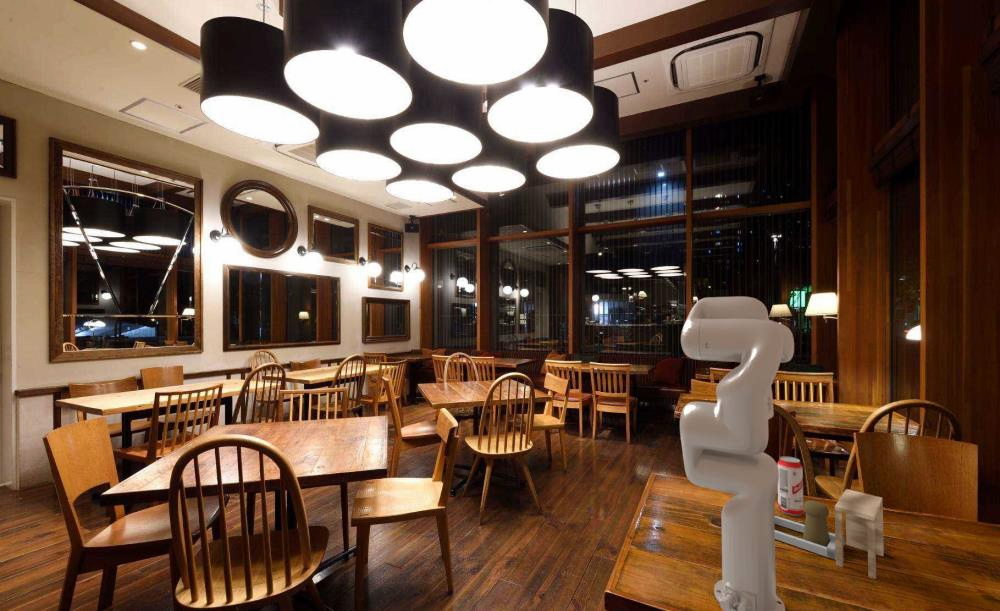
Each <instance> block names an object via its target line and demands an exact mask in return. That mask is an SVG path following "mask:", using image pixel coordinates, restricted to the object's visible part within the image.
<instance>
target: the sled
mask: <svg viewBox="0 0 1000 611" xmlns="http://www.w3.org/2000/svg"><path fill="white" fill-rule="evenodd" d="M774 525H777V526H780V527H784V528H787V529H791V530H792V531H793V530H794V531H796V532H800V533H804V526H805V523H804V524H803V523H800V522H796V521H795V520H790V519H787V518H785V517H781V516H778V515H775V521H774ZM829 538H830V543H829V544H828V546H827V547H824V546H821V545H818V544H815V543H812V542H809V541H806V540H803V538H800V537H797V536H794V535H791V534H788V533H785V532H782V531H779V530H776V529H775V540H777V541H779V542H783V543H785V544H789V545H791V546H795V547H797V548H800V549H804V550H806V551H809V552H812V553H815V554H818V555H820V556H823V557H825V558H830V559H833V560H835V561H836V538H835V533H832V532H829ZM845 539H846V538H845V536H843V547H844V546H845V545H846V544H845V542H846V541H845Z"/></svg>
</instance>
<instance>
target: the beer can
mask: <svg viewBox="0 0 1000 611" xmlns="http://www.w3.org/2000/svg"><path fill="white" fill-rule="evenodd" d="M777 466H778V470H779V481H778V487H777V508H778V509H779V511H780V512H781V513H782V514H784V515H787V516H791V517H800V516H803V514H804V484H803V483H804V480H803V479H804V477H803V466H802V463H801V460H800V459H799V458H796V457H794V456H793V457H792V456H787V455H786V456H784V455H783V456H779V460H778V461H777Z"/></svg>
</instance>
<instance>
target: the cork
mask: <svg viewBox="0 0 1000 611" xmlns="http://www.w3.org/2000/svg"><path fill="white" fill-rule="evenodd" d="M803 512H804V513H805V519H804V520H805V521H804V525H805V526H804V533H803V535H802V539H803V540H806V541H809V542H812V543H815V544H818V545H821V546H824V547H827V546H828V544H829V543H830V538H829V533H830V532H829V528H828V522H827V519H828V516H829V513H830V512H829V508H828V506H827V504H826V505H825V503H823V502H821V501H817V500H806V501H805V502H803Z"/></svg>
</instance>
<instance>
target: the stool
mask: <svg viewBox="0 0 1000 611" xmlns="http://www.w3.org/2000/svg"><path fill="white" fill-rule="evenodd" d="M883 509H884V508H883V497H882V496H881V497H880V496H877V495H873V494H869V493H865V492H860V491H855V490H852V489H848V488H846V489H845V490H844V492H843V493H842V494H841V495H840V497H839V499H838V500H837V502H836V504H835V505H834V525H835V526H834V527H835V528H834V529H835V533H834V534H835V538H836V560H835V566H838V567H840V568H844V546H843V537H844V532H843V531H844V528H843V525H844V524H843V513H844V514H845V532H846V533H845V539H846V541H845V542H846V544H845V545H846V546H850V547H853V548H855V549H859V550H862V551H865V552H867V566H868V568H867V569H868V570H867V571H868V574H867V575H868V578H871V579H874V580H876V579H877V558H876V557H877V556H880V557H884V552H885V551H884V518H883V517H884V516H883V515H884V514H883V513H884V512H883Z"/></svg>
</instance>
